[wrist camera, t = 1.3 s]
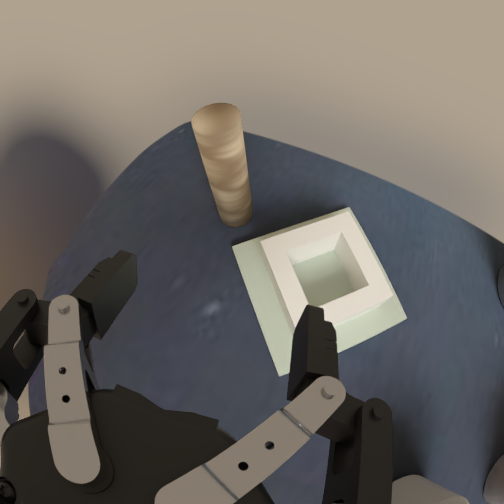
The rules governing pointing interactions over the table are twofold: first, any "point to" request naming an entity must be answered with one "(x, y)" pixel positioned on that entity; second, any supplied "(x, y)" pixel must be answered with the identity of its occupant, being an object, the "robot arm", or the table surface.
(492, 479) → the pillar candle
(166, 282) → the table surface
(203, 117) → the peg
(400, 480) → the can
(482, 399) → the table surface
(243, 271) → the socket
